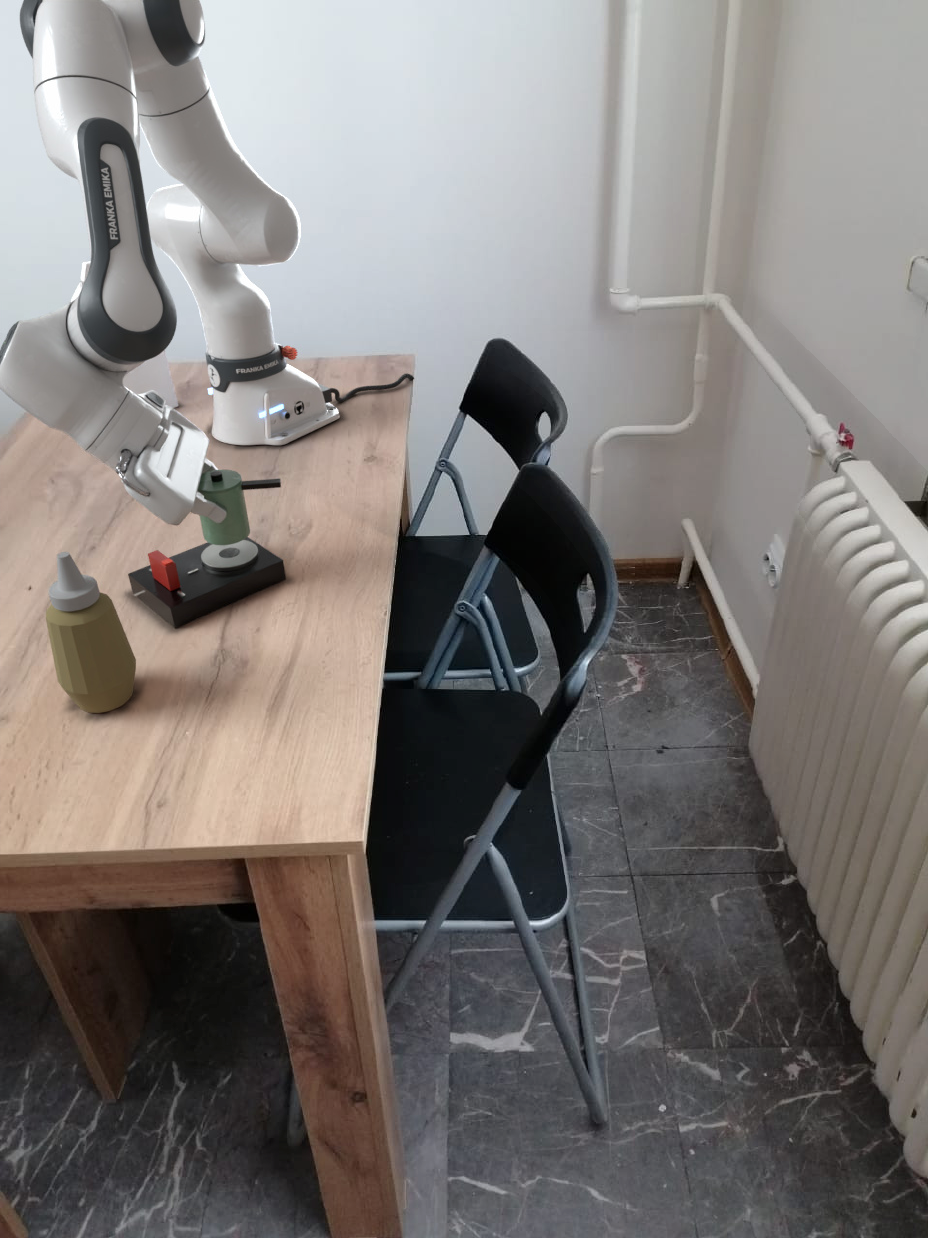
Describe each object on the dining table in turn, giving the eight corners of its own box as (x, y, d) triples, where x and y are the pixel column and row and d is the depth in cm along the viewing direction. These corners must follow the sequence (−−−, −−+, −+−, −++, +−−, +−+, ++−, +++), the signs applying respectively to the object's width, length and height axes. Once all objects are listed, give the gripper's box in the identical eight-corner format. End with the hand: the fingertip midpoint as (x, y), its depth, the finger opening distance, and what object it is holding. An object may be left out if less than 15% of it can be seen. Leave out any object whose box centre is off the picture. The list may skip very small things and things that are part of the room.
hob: (240, 549, 129) (237, 529, 127) (286, 579, 122) (283, 558, 120) (119, 599, 119) (113, 578, 117) (161, 635, 112) (155, 613, 110)
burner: (239, 537, 126) (238, 533, 125) (269, 557, 121) (268, 552, 121) (191, 556, 122) (190, 552, 121) (220, 577, 117) (219, 573, 117)
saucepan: (257, 509, 125) (248, 450, 120) (291, 529, 120) (283, 469, 115) (194, 533, 120) (182, 473, 115) (227, 556, 115) (215, 494, 110)
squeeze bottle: (77, 677, 106) (33, 536, 96) (150, 672, 106) (114, 532, 96) (57, 723, 99) (7, 578, 89) (135, 718, 100) (95, 573, 89)
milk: (147, 390, 180) (117, 248, 165) (178, 405, 173) (149, 258, 158) (88, 407, 173) (51, 260, 158) (118, 424, 166) (82, 272, 152)
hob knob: (153, 577, 117) (146, 551, 115) (163, 573, 118) (157, 547, 116) (170, 591, 115) (164, 565, 112) (181, 587, 115) (175, 561, 113)
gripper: (129, 453, 101) (235, 526, 108) (156, 385, 118) (247, 451, 124) (96, 493, 103) (202, 562, 110) (128, 420, 120) (218, 484, 127)
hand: (226, 503), depth 117 cm, fingers closed on saucepan, 6 cm apart
